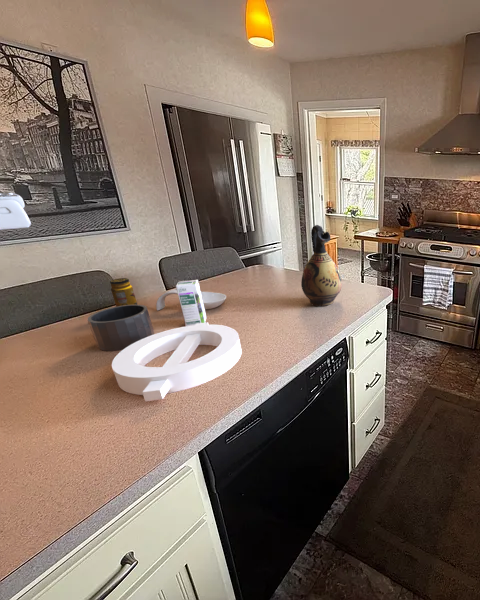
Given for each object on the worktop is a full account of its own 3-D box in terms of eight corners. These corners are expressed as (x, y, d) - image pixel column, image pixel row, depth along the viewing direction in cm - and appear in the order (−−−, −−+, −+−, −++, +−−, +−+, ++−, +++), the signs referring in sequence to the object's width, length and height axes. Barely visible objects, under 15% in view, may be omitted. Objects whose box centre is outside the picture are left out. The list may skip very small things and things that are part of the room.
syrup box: (185, 327, 108) (174, 285, 103) (188, 320, 113) (178, 280, 108) (205, 324, 110) (195, 283, 105) (207, 317, 115) (198, 278, 110)
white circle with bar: (206, 330, 105) (203, 317, 104) (262, 353, 92) (260, 338, 90) (97, 372, 83) (91, 356, 81) (151, 410, 70) (145, 392, 68)
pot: (109, 355, 90) (98, 326, 87) (90, 343, 97) (79, 315, 94) (163, 336, 101) (155, 310, 98) (142, 326, 108) (135, 301, 105)
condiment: (144, 307, 124) (135, 277, 119) (128, 316, 116) (117, 284, 112) (125, 307, 123) (115, 277, 119) (107, 316, 116) (96, 284, 111)
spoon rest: (231, 300, 131) (228, 283, 129) (222, 311, 120) (218, 293, 118) (167, 303, 127) (162, 286, 125) (151, 315, 116) (145, 297, 114)
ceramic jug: (349, 304, 128) (345, 227, 118) (311, 312, 120) (303, 230, 109) (332, 292, 141) (327, 222, 131) (296, 298, 133) (288, 224, 122)
